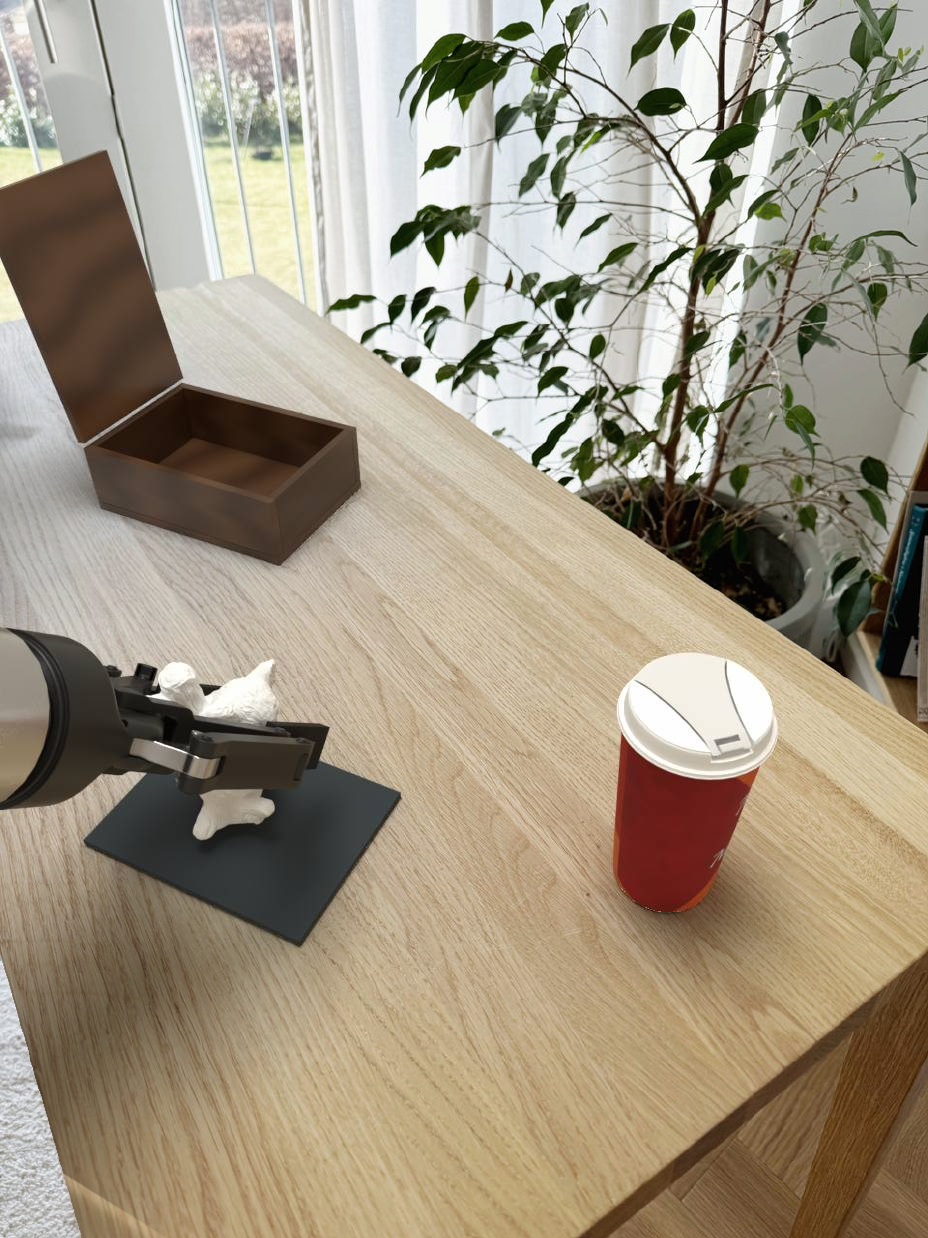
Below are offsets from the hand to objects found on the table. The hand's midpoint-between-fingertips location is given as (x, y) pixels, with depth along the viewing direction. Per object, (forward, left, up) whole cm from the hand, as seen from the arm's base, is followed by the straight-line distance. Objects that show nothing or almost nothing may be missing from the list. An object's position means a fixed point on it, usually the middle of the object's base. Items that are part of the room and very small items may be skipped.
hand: (266, 726), depth 61 cm
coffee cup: (+25, +4, -6) cm, 26 cm away
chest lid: (-34, +26, +11) cm, 45 cm away
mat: (0, -4, -5) cm, 6 cm away
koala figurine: (0, -4, -4) cm, 5 cm away
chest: (-23, +26, -5) cm, 36 cm away
